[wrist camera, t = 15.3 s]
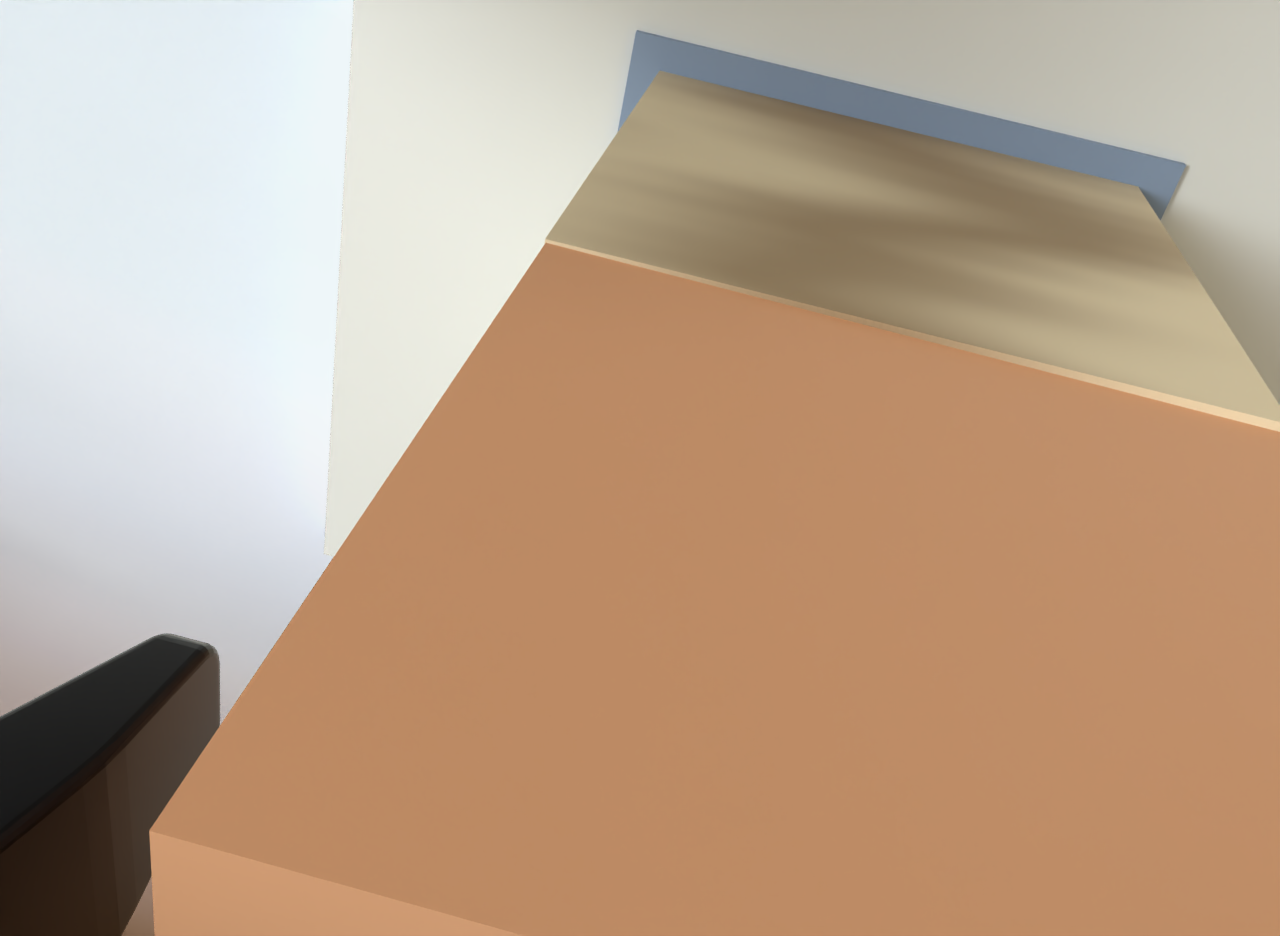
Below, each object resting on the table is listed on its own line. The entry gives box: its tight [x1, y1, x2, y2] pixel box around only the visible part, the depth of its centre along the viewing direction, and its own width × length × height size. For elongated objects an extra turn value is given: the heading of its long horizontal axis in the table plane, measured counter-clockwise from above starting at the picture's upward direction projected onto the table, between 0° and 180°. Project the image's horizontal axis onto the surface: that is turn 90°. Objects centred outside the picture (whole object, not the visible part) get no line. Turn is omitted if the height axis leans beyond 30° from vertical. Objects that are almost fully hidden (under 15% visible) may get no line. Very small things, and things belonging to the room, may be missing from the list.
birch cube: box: [544, 71, 1280, 432], centre depth 13 cm, size 6×6×6 cm
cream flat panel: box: [324, 0, 1280, 556], centre depth 16 cm, size 12×14×1 cm
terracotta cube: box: [149, 243, 1280, 936], centre depth 8 cm, size 6×6×6 cm
